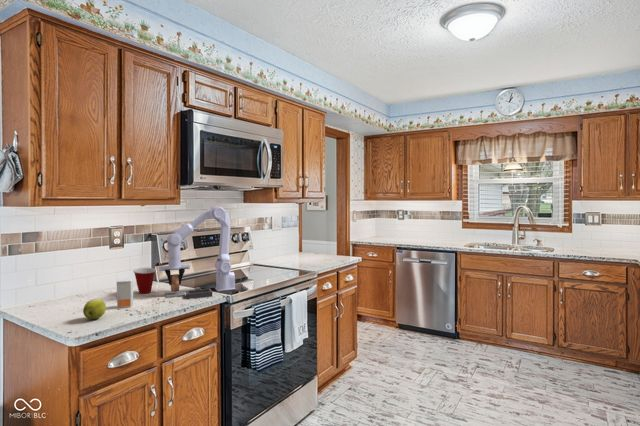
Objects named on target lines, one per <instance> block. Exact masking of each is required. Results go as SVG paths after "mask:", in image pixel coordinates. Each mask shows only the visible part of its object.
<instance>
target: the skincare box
mask: <svg viewBox="0 0 640 426" xmlns="http://www.w3.org/2000/svg"><path fill="white" fill-rule="evenodd" d="M133 306H134V279H133V278H130V279H127V278H126V279H118V280H117V281H116V308H117V309H119V308H121V309H122V308H123V309H124V308H132V307H133Z"/></svg>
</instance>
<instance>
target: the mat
mask: <svg viewBox="0 0 640 426" xmlns="http://www.w3.org/2000/svg"><path fill="white" fill-rule="evenodd" d="M164 294H165V297H166V299H167V298H168V299H169V298H177V297H178V298H180V297H187V296H186V292H185V291H184V290H181V291H180V290H179V291H177V292H171V291H168V292H164Z"/></svg>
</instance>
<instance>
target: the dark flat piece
mask: <svg viewBox="0 0 640 426" xmlns="http://www.w3.org/2000/svg"><path fill="white" fill-rule="evenodd" d="M185 294H186V296H185V297H186V298H187V299H188V300H192V299H201V298H211V297H213V290H212V289H211V288H201V287H199V286H198V287H195V288H194V289H193V290H191V289H190V290H186V291H185Z"/></svg>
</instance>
